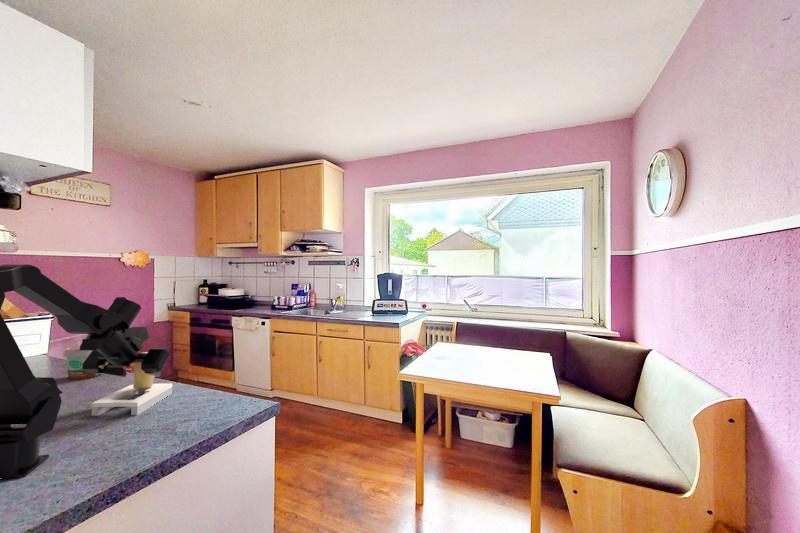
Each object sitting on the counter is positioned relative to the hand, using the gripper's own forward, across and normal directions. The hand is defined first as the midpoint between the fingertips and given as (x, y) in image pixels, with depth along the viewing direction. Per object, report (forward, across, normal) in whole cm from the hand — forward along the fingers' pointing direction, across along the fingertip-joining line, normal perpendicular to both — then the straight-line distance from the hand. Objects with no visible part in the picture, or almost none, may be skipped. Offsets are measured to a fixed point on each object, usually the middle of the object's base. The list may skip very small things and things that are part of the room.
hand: (142, 375), depth 92 cm
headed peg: (+5, 0, +5) cm, 7 cm away
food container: (+19, +32, -9) cm, 38 cm away
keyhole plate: (+3, 0, +7) cm, 8 cm away
